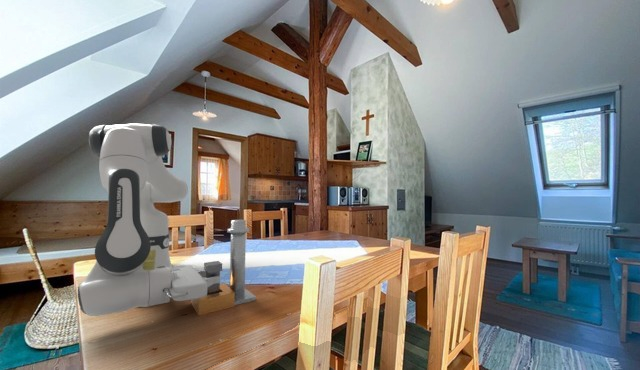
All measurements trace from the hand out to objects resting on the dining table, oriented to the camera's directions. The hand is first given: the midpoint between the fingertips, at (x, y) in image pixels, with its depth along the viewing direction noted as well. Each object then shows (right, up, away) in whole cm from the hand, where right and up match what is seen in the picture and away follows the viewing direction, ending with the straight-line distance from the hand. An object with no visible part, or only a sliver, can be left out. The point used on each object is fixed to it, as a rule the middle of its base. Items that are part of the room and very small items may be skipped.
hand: (216, 275), depth 77 cm
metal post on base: (+2, -8, +1) cm, 9 cm away
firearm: (-26, -8, +9) cm, 29 cm away
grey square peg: (-1, -8, -1) cm, 8 cm away
